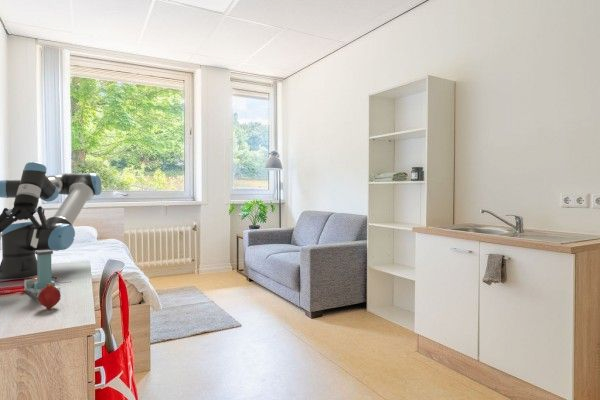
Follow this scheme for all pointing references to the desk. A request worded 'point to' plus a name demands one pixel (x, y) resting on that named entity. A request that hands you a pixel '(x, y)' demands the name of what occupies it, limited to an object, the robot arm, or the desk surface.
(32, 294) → the rail
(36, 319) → the desk surface
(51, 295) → the onion
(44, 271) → the carriage
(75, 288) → the desk surface
